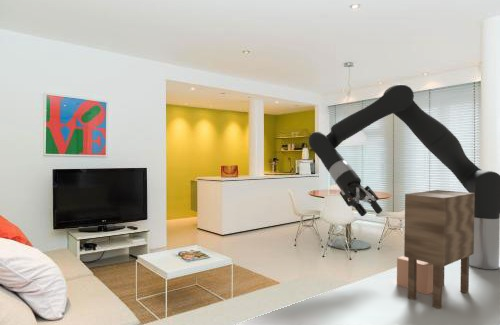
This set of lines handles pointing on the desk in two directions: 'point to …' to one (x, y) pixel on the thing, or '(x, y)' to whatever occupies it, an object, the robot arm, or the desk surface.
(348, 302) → the desk surface
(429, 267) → the terracotta block
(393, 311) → the desk surface
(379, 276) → the desk surface
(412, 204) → the walnut cabinet
